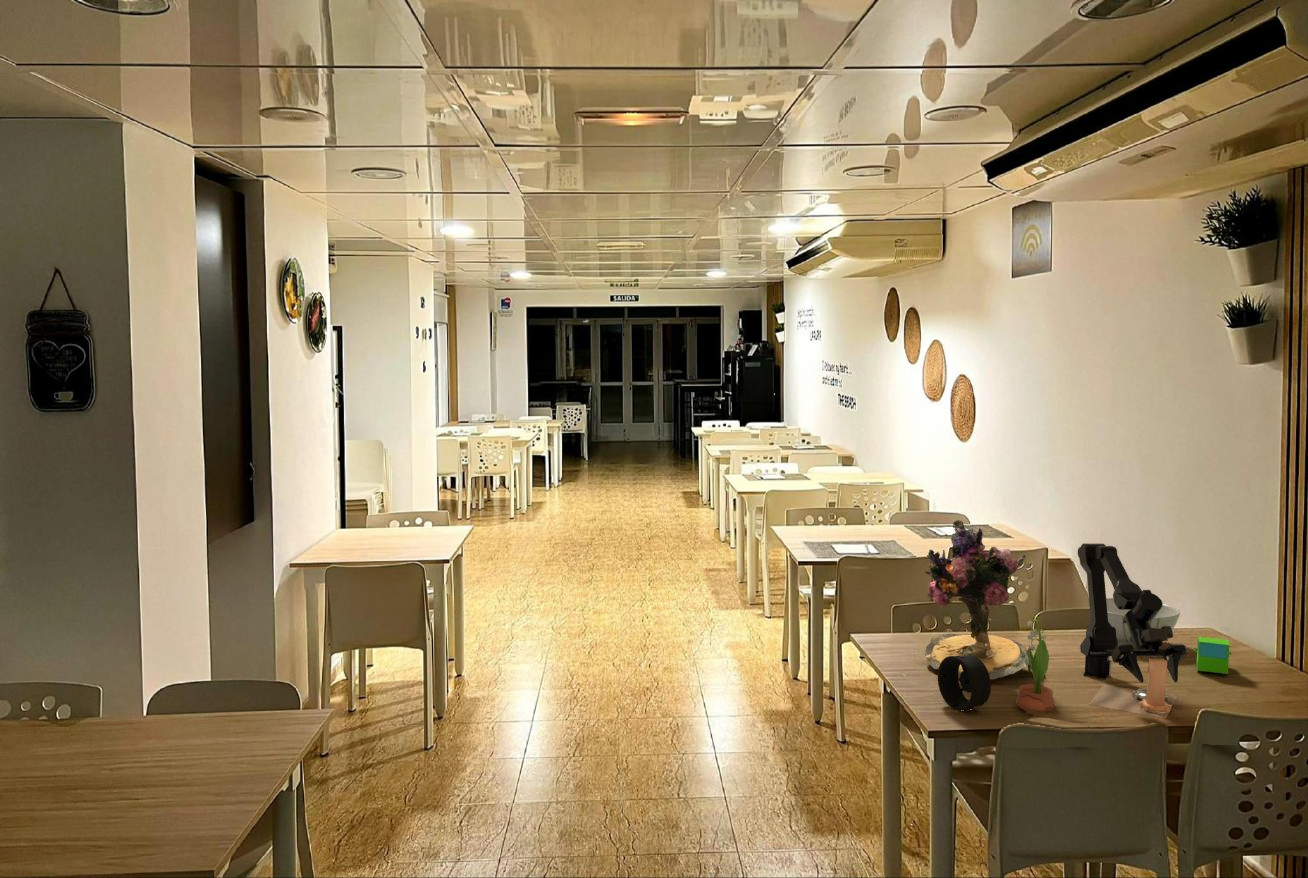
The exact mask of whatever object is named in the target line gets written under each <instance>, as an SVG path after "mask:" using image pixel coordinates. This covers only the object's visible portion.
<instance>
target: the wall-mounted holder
mask: <svg viewBox="0 0 1308 878" xmlns="http://www.w3.org/2000/svg"><path fill="white" fill-rule="evenodd" d="M960 664H961V666H962V669H963V671H962V673H961V675H960V678H958V672H959V667H960ZM991 682H992V681H991V680H990V676H989V673H988V670H987V668H986V666H985V665H984V663H983V662H982V661H981V660H980V659H979V658H977V657H976V656H973V655H965V656H948V657H946V658H945V659H943V660H942V662H941V664H940V666H939V669H937V685H938V690H939V692H940V695H941V697H942V699H943V700H944V702H945V703H946V704H947V705H948V707H950V708H951V709H952V708H953V709H952V710H954V709H956V710H955V711H957V710H958V711H957V712H962V711H961V710H964V711H963V712H967V711H966V710H970V709H973V710H975V708H977V707H982V706H983V705H985V704H986V703H987V702H988V700H989V698H990V696H991V692H992V683H991ZM964 692H965V693H968V694H970V696H969V699H968V698H967V697H966V695H965V694H964ZM970 711H971V710H970Z"/></svg>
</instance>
